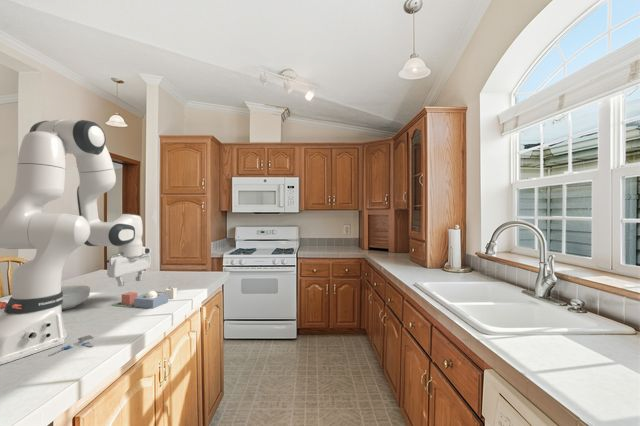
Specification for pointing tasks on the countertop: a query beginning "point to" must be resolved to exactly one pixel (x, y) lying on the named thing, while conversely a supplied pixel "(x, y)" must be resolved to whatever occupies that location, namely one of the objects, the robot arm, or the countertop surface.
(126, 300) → the red cube
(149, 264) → the robot arm
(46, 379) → the countertop surface
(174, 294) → the die
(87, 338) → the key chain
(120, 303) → the track
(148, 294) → the dome
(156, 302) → the dome collar
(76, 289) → the cereal bowl
